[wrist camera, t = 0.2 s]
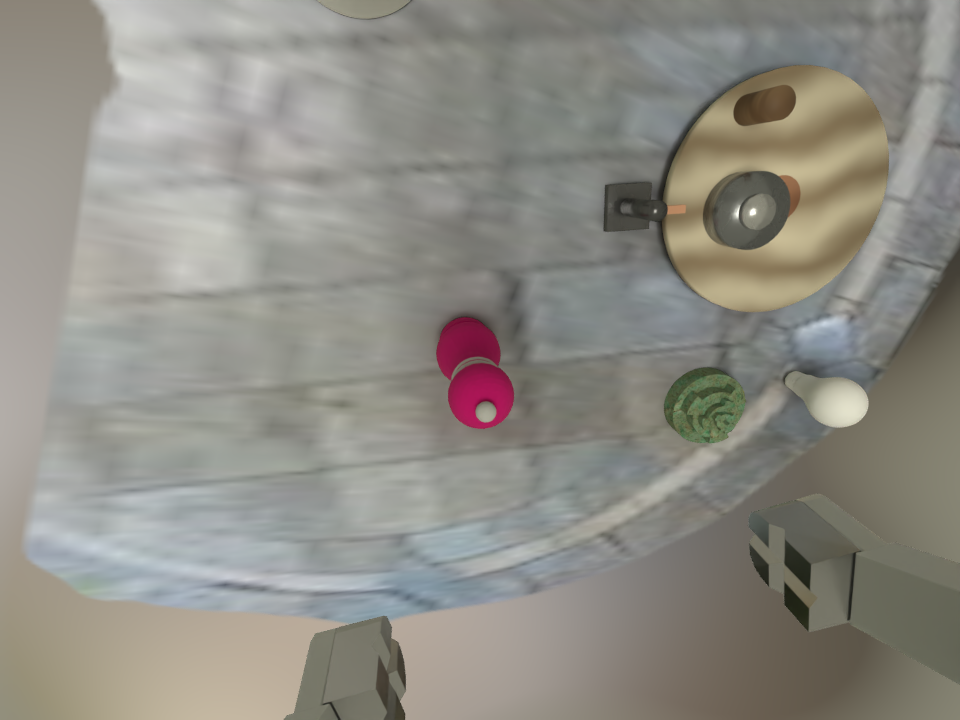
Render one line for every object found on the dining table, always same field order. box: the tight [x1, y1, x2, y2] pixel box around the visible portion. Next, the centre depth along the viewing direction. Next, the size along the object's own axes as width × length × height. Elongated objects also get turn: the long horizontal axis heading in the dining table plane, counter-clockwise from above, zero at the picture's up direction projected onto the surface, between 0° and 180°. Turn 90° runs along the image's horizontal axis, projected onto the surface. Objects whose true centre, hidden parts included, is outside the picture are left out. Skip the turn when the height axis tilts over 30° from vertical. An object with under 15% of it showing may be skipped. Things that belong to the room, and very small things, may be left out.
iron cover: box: [703, 171, 790, 250], centre depth 52 cm, size 8×8×4 cm
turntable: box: [662, 65, 889, 312], centre depth 52 cm, size 26×26×6 cm
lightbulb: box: [785, 371, 868, 427], centre depth 61 cm, size 6×6×11 cm
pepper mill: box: [436, 317, 514, 429], centre depth 49 cm, size 7×7×20 cm
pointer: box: [604, 183, 686, 232], centre depth 51 cm, size 6×5×8 cm
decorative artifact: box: [664, 368, 746, 443], centre depth 62 cm, size 10×7×10 cm
